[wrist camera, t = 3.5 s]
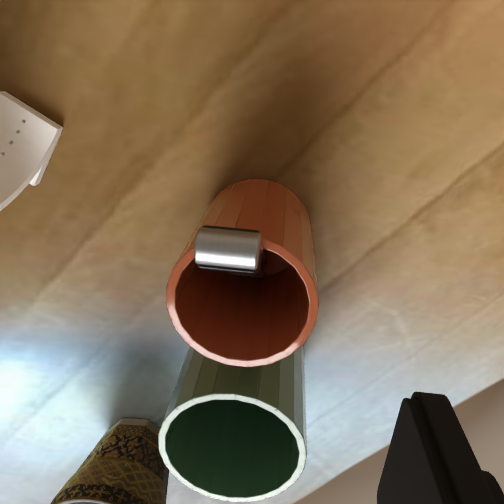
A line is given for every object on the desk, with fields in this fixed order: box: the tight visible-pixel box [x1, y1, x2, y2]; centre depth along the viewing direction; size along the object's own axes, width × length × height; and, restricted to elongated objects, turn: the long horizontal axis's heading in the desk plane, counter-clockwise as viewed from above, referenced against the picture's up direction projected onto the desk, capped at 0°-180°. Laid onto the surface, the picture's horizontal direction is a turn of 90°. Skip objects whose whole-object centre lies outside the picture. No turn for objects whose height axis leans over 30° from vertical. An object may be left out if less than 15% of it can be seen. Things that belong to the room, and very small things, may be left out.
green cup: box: [158, 344, 307, 502], centre depth 33 cm, size 10×10×11 cm
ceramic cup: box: [51, 418, 169, 504], centre depth 40 cm, size 13×10×10 cm
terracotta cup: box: [166, 179, 319, 367], centre depth 28 cm, size 8×8×11 cm
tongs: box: [194, 225, 267, 278], centre depth 24 cm, size 2×10×18 cm, turn 176°
